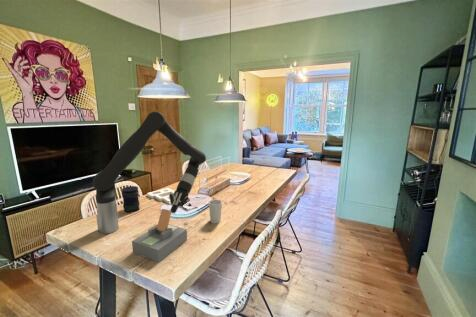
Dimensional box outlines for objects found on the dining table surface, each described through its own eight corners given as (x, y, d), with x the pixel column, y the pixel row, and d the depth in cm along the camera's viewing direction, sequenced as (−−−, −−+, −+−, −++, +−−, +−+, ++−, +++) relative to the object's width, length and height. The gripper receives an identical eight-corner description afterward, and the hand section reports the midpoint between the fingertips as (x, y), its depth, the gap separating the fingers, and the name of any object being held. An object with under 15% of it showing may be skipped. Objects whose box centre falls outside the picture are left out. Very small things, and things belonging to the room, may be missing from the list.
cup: (222, 217, 144) (222, 199, 142) (221, 223, 137) (221, 204, 134) (209, 217, 144) (209, 199, 142) (208, 223, 136) (208, 204, 134)
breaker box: (163, 232, 126) (162, 217, 124) (187, 239, 119) (186, 223, 117) (132, 252, 108) (131, 235, 106) (158, 262, 101) (157, 243, 100)
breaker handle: (158, 232, 114) (164, 208, 117) (166, 234, 112) (171, 210, 114) (155, 232, 113) (161, 208, 115) (163, 235, 110) (169, 210, 113)
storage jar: (120, 210, 152) (118, 189, 149) (133, 205, 161) (131, 185, 158) (130, 214, 148) (128, 192, 145) (143, 208, 156) (141, 187, 153)
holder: (199, 207, 160) (199, 203, 160) (176, 215, 148) (175, 211, 148) (168, 191, 192) (168, 187, 192) (147, 196, 180) (146, 193, 179)
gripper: (173, 178, 127) (158, 207, 119) (193, 181, 122) (179, 212, 113) (180, 184, 133) (166, 212, 124) (199, 188, 127) (186, 217, 119)
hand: (172, 212), depth 119 cm, fingers closed
